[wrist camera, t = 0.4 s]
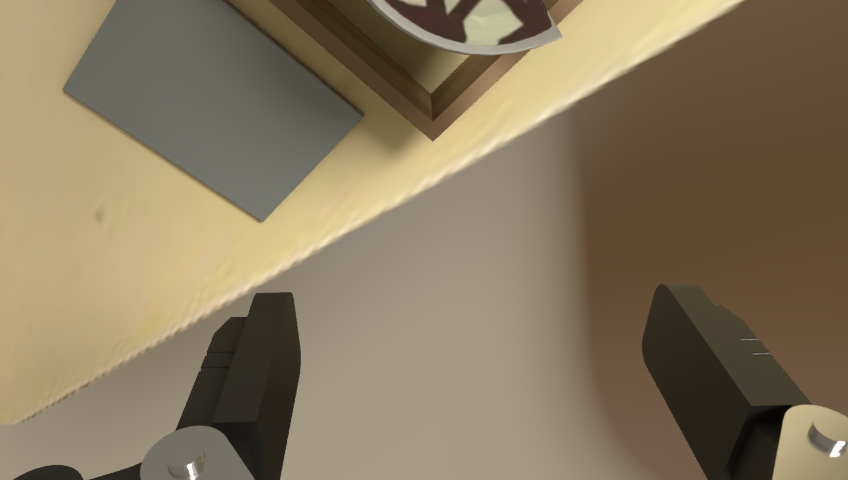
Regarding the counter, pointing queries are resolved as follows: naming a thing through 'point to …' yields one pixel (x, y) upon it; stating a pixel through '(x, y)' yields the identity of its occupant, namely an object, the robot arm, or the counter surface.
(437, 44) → the food container
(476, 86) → the frame
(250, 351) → the robot arm
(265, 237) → the counter surface
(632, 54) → the counter surface
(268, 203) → the rubber mat
